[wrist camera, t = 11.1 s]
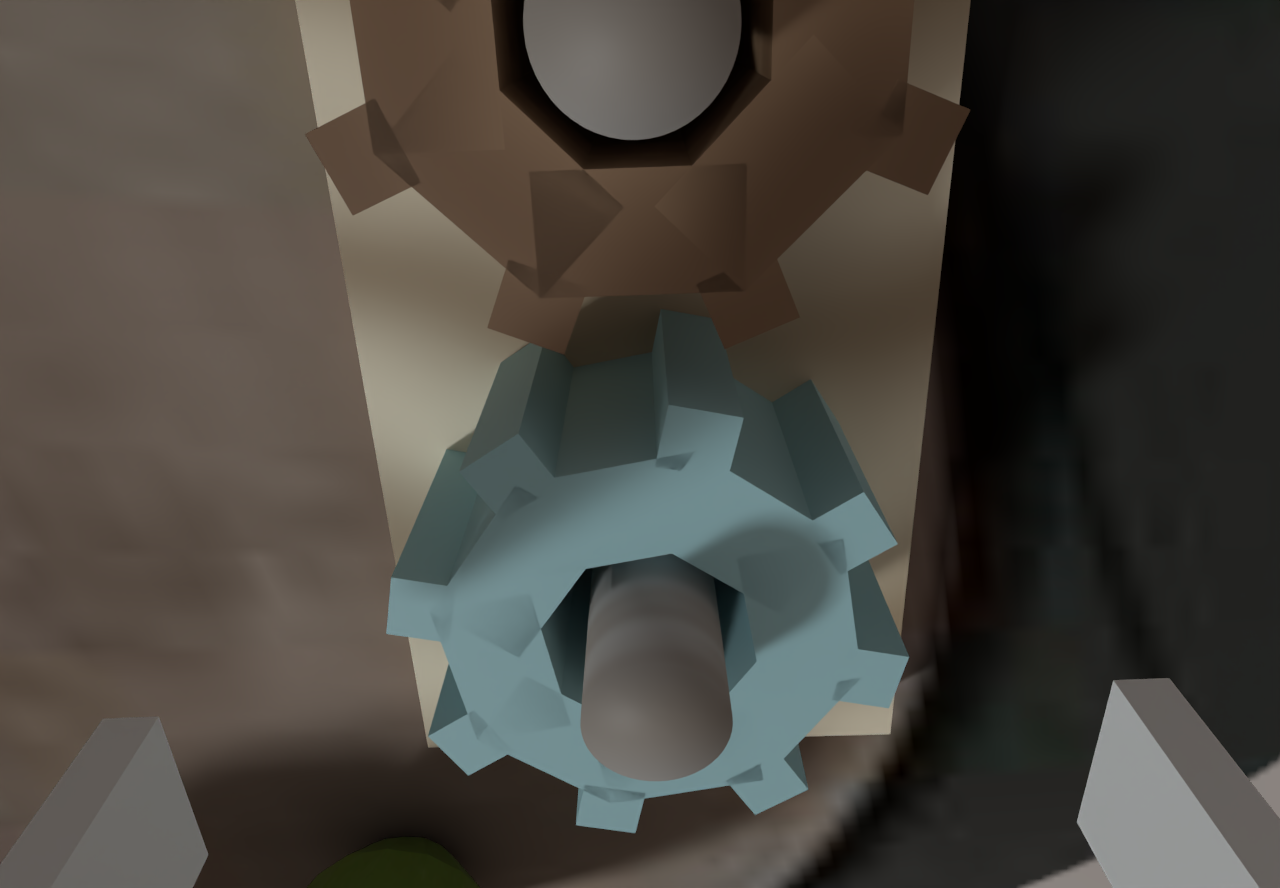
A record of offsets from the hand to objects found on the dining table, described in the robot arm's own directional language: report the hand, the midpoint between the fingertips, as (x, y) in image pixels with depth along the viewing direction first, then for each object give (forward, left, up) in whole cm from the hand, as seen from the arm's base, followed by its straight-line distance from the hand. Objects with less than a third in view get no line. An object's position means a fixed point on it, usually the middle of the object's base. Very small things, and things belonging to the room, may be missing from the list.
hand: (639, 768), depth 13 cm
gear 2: (0, 0, -8) cm, 8 cm away
